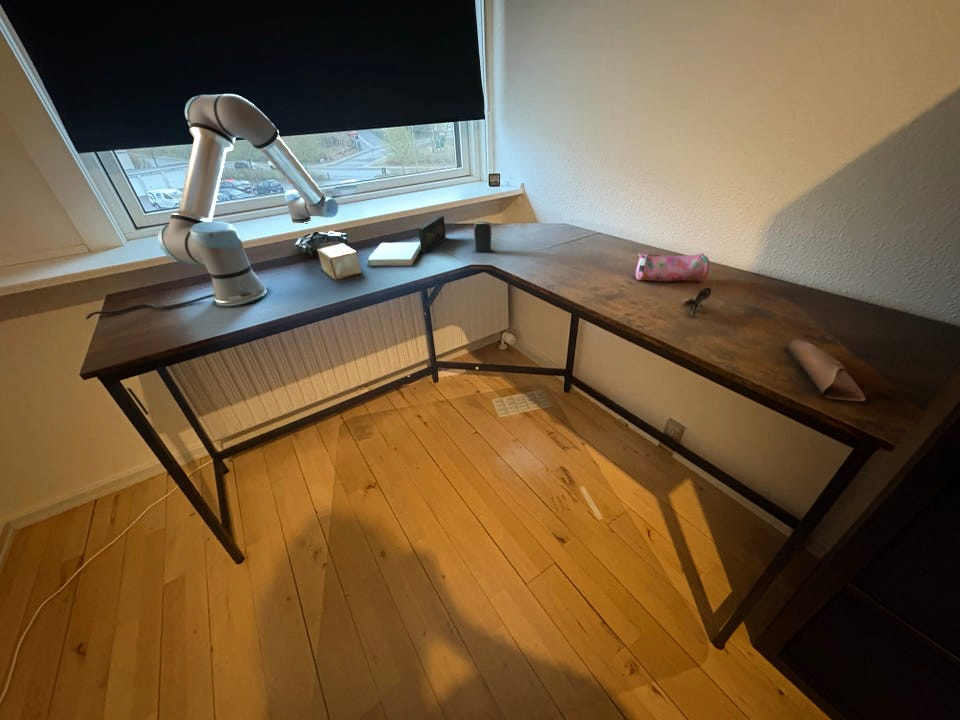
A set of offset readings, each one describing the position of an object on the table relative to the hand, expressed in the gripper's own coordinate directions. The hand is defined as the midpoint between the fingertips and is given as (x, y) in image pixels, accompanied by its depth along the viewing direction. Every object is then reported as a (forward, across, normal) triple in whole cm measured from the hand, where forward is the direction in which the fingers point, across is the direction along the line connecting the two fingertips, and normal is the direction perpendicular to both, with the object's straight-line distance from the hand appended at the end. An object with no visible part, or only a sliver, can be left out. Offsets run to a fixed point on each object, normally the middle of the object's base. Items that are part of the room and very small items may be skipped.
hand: (329, 246), depth 143 cm
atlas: (+7, +23, +8) cm, 25 cm away
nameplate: (+6, +42, +8) cm, 43 cm away
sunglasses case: (+141, +57, +8) cm, 152 cm away
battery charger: (+26, +54, +8) cm, 60 cm away
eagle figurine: (+108, +66, +8) cm, 127 cm away
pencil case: (+92, +80, +8) cm, 122 cm away
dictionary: (+7, 0, +8) cm, 11 cm away
